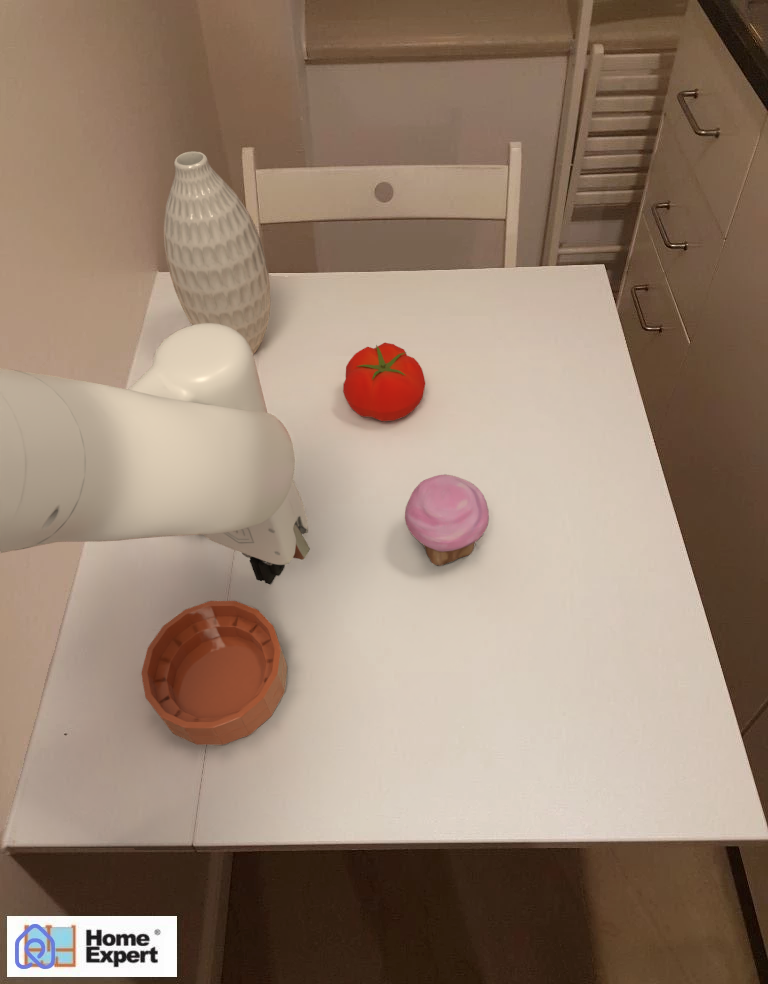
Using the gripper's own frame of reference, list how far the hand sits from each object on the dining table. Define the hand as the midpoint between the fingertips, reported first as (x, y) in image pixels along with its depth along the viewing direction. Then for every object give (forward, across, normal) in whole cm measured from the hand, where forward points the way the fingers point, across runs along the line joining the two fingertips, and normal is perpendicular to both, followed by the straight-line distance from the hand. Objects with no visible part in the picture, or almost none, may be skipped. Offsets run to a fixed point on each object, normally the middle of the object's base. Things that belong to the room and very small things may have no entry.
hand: (270, 571), depth 76 cm
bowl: (+4, 0, -12) cm, 12 cm away
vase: (+5, -26, +34) cm, 43 cm away
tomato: (+5, -1, +32) cm, 32 cm away
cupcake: (+4, +15, +13) cm, 20 cm away
